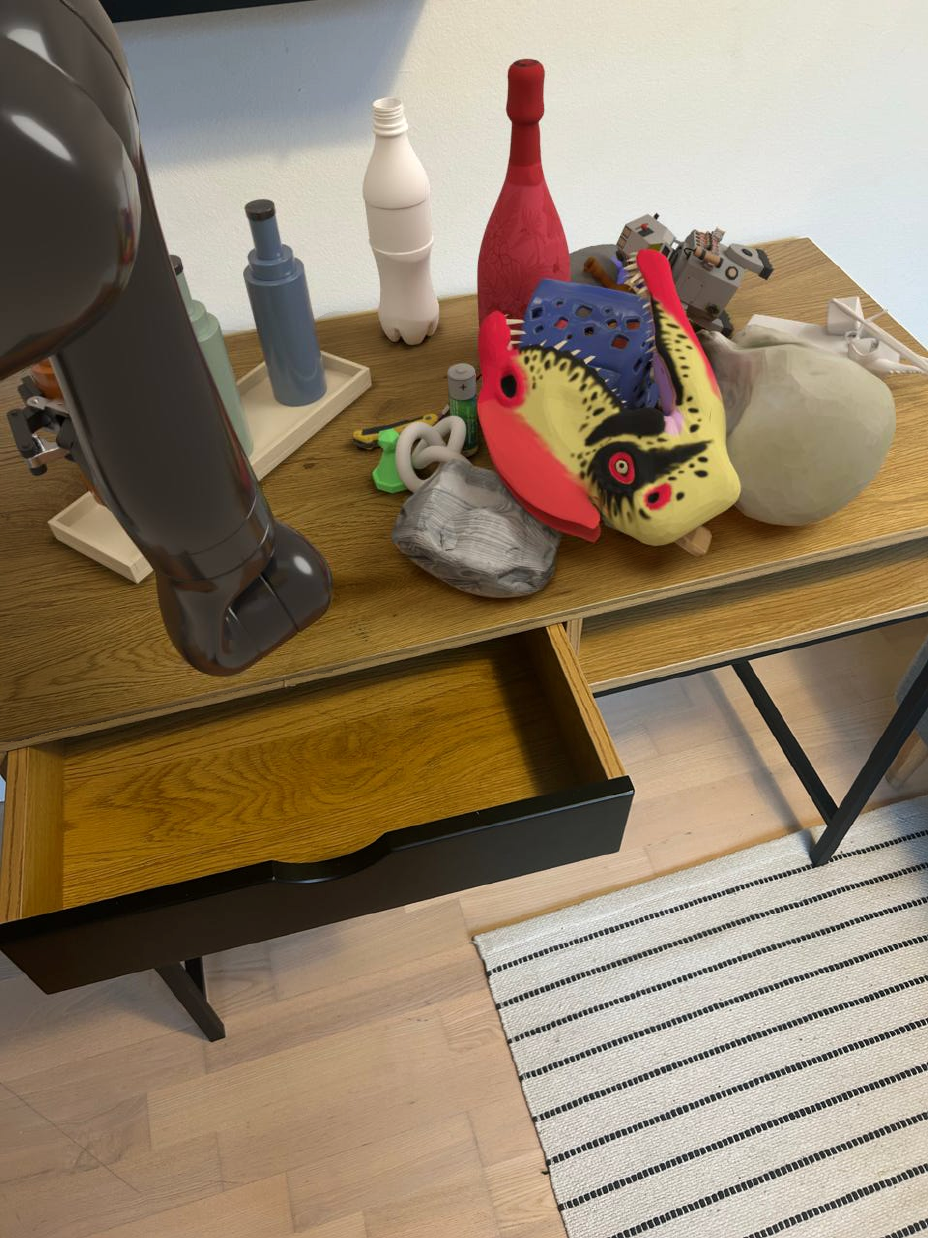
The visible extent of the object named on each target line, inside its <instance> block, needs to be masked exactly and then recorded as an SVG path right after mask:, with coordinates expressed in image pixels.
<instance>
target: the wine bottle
mask: <svg viewBox="0 0 928 1238" xmlns="http://www.w3.org/2000/svg"><path fill="white" fill-rule="evenodd" d="M545 70H546V69H545V67H544V64H542V62H541V61H539V60H537V59H533V58H520V59H517V60H515V61H514V62H512V63H511V64H510V65H509V67H508V70H507V94H506V95H507V96H506V97H507V98H506V103H505V104H506V106H505V111H506V116H507V118H508V119H509V121H510V122H511V129H510V130H511V131H510V144H509V145H510V146H509V156H508V162H507V167H506V174H505V177H504V181H503V184H502V187H501V189H500V192H499V194H498V196H497V200H496V202H495V205H494V206H493V209H492V211H491V214H490V216H489V218H488V221H487V223H486V227H485V230H484V233H483V236H482V240H481V243H480V246H479V247H480V248H479V251H478V252H479V253H478V259H477V267H476V268H477V269H476V270H477V271H476V282H477V283H476V287H477V288H476V289H477V294H476V295H477V314H478V315H477V317H478V330H479V329H480V327H481V324H482V322H483V321H484V319H485V318H486V317H488V316H489V315H490V314H491V313H492V312H494V311H499V312H501V313H502V314H503V315H507V316H506V319H513V320H523V319H524V315H525V312H526V310H527V307H528V304H529V302H530V300H531V297H532V295H533V293H534V291H535V289H536V287H537V285H538V284H539V282H540V281H541V280H542V279H552V280H558V281H565V282H570V256H569V254H570V250H569V249H570V248H569V245H568V241H567V237H566V234H565V230H564V227H563V223H562V220H561V218H560V217H561V216H560V215H559V212H558V210H557V207H556V205H555V203H554V200H553V197H552V195H551V192H550V190H549V187H548V184H547V180H546V178H545V172H544V168H543V163H542V147H541V128H540V121H541V120H542V119H543V117H544V116H545V100H544V99H545V98H544V97H545V95H544V92H545V89H544V88H545V78H546V71H545ZM558 306H561V305H560V304H559V305H558ZM566 325H567V322H566V321H564V320H561V321H559V322H558V324H557V325H556V326H555V327H557V328H560V329H563V328H564V327H565V326H566ZM508 326H509V327H510V330H518V331H521V327H522V323H516V324H509V325H508ZM519 339H520V334H516V335H511V341H519ZM513 345H514V349H517V348H519V343H516V344H513Z"/></svg>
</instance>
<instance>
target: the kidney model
mask: <svg viewBox="0 0 928 1238" xmlns="http://www.w3.org/2000/svg"><path fill="white" fill-rule="evenodd" d="M616 251H618V250H617V247H616V243H615V244H614V243H605V244H604V243H603V244H597V245H590V246H586V247H583V248H580V249H578V250H576V251H575V250H574V251H572V252H569V256H570V282H571V283H579V284H584V285H591V286H597V287H603V288H606V287H605V286H604V285H603V284H602V282H601V280H598V279H596V278H595V277H594V276H593V275H592V274H587V273H585V272H584V271H583V269H584V263H585V262H586V261H587V259H588V258H590V257H593V258H595V259H596V260H597V261H598V264H599V266H600V267H601V268H603V270H604V271H605V273H606V275H608V276H609V277H611V279H612V280H613V281H614V282H615V283H616V284H626V282H627V281H628V280H631V279H633V278H634V277H633V276H629V277H624V276H625V275H627V274H628V273H629V272H628V271H626V269H623V267H622V263H621V262H620V261H618V259H617V256H616ZM587 268H588V267H587ZM636 281H637V280H635V281H634V282H633V284H634V283H635V282H636ZM642 287H643V286H642V284H641V283H640V284H638V285H636V286H635V288H637V289H638V290H640V288H642ZM591 312H592V311H590V310H587V309H584V308H581V309H580V310H579V311H578V312H577V314H576V316H578V317H581V318H587V317H588V316H589V315H590V314H591ZM567 323H568V322H567Z"/></svg>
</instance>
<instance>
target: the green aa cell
mask: <svg viewBox="0 0 928 1238" xmlns="http://www.w3.org/2000/svg"><path fill="white" fill-rule="evenodd" d="M481 378H482V374H481V371H480V372H479V373H478V374H476V383H477V382H479V380H480V379H481ZM449 412H450V403H449V402H448V403H447V404H446V405H445V407H444V408H443V409H442V410H441V413H440V416H439V417H438V418H437V419H436V421H435V422H434V423H433V426H434V425H436V424H437V423H438V422H439V421H441V420H442V419H443V418H444V417H445V416H446V415H447V414H448V413H449Z"/></svg>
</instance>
